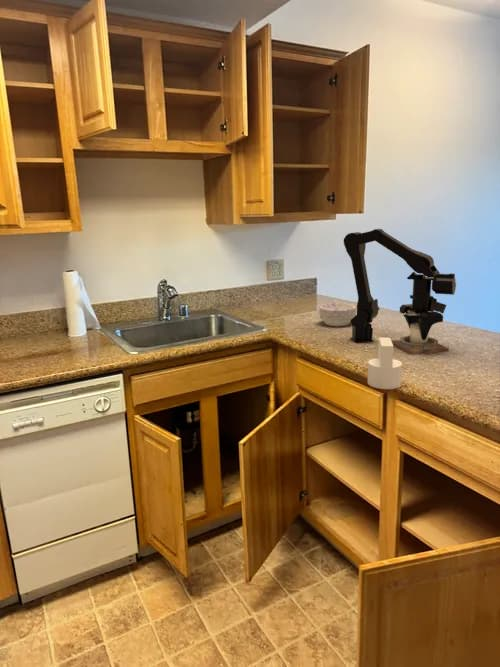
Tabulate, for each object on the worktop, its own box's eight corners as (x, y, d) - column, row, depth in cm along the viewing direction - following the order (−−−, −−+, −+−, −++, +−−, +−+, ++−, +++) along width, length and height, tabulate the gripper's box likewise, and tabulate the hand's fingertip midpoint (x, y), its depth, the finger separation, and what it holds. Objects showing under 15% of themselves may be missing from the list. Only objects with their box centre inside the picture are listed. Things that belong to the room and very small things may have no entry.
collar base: (409, 354, 157) (410, 347, 157) (390, 343, 171) (390, 336, 170) (448, 351, 160) (449, 344, 159) (426, 340, 173) (426, 334, 172)
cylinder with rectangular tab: (403, 389, 127) (405, 346, 124) (368, 388, 128) (369, 345, 126) (398, 378, 135) (400, 337, 133) (366, 377, 137) (367, 337, 134)
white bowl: (340, 330, 193) (340, 310, 191) (312, 324, 204) (312, 306, 202) (362, 323, 202) (363, 305, 200) (334, 318, 213) (334, 301, 211)
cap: (405, 344, 165) (406, 325, 163) (414, 341, 169) (415, 322, 167) (422, 347, 161) (423, 327, 159) (431, 344, 165) (432, 324, 163)
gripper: (459, 295, 153) (456, 342, 157) (428, 287, 171) (426, 329, 174) (427, 297, 151) (425, 345, 155) (399, 289, 169) (397, 331, 173)
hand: (418, 337), depth 164 cm, fingers closed on cap, 6 cm apart
